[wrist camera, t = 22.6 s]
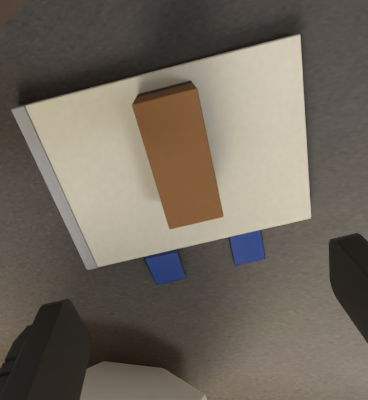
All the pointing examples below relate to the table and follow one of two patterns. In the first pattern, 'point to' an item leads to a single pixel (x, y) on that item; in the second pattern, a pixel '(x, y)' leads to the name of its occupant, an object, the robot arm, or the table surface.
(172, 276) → the blue rectangular block
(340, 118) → the table surface
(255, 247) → the blue flat block
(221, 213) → the eraser
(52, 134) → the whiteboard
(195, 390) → the geometric form
